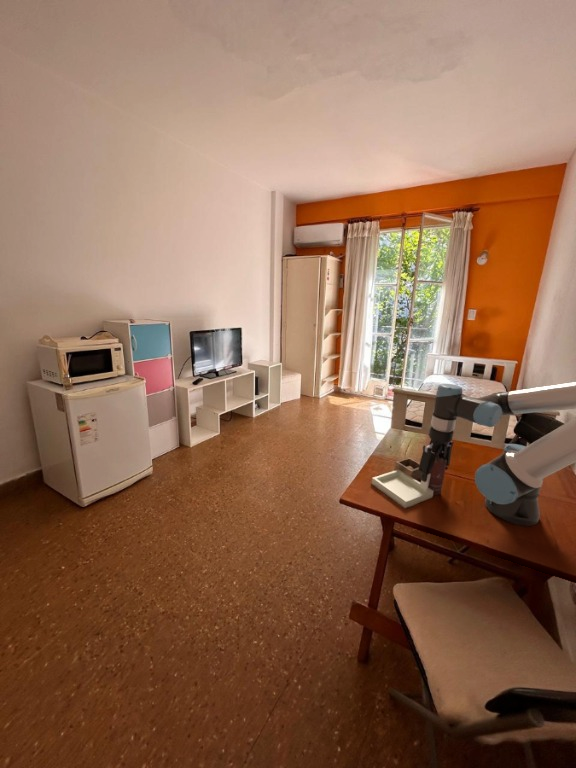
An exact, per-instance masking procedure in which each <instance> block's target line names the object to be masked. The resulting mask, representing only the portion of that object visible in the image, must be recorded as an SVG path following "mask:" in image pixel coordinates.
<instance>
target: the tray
mask: <svg viewBox="0 0 576 768" xmlns="http://www.w3.org/2000/svg"><path fill="white" fill-rule="evenodd" d="M420 483H421V481H419V480H415V479H413V478H412V477H410V476H409V475H407V474H405V473H404V472H402V471H400V470H399V469H398V470H395V471H394V470H392V471H390V472H386V473H383V474H380V475H378V476H374V477H371V484H372V485H373V486H374V488H376V489H378V490H380V492H382V493H383V494H384V495H386V496H387V497H389V498H390V499H391V500H393V501H394V502H396V504H398V505H399V506H401V507H402V508H403V509H407V508H410V507H412V506H415V505H418V504H419V503H421V502H422V503H423V502H424V501H427V500H429V499H432V498H433V496H434V495H433V492H434V491H433V490H431V489H430V488H428V490H427V491H426V490H424V489H423V488H421V487H420Z"/></svg>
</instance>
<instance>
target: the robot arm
mask: <svg viewBox="0 0 576 768" xmlns="http://www.w3.org/2000/svg"><path fill="white" fill-rule="evenodd" d="M434 397H435V399H434V400H435V401H434V405H433V412H432V416H431V421H430V426H429V431H428V437H429V438H430V442H429V444H428V445H423V446H422V453H421V458H420V462H419V463H420V465H419V469H418V471H420V472H422V477H421V479H420V487H421V488H423V489H424V490H426V491H427V490H428V485H429V480H430V475H431V474H430V470H431V468H432V466H433V463H434V461H435V458H436V457H438V455H439V457H440V458H441V457H442V458H445V457H446V460H447V463H446V468H445V471H447V470H448V469H449V466H450V465H451V464H450V463H451V455H452V451H453V450H452V448H453V445H454V441H452V440H453V436H454V432H455V431H454V430H455V428H456V422H457V417H458V418H460V419H463V420H466V421H469V422H472V423H475V424H477V425H479V426H482V427H483V426H485V427H488V428H494V427H495V426H496V425H497V424H498V423H499V422H500V420H501V418H502V416H512V415H519V414H521V415H523V414H531V413H543V412H544V413H545V412H554V411H565V410H576V381H570V382H566V383H565V382H564V383H559V384H552V385H551V384H550V385H545V386H538V387H532V388H531V387H530V388H525V389H516V390H511V391H504V392H503V391H498V392H493V393H492V394H488V395H485V396H481V397H478V398H477V397H473V396H469V395H466V394H464V393H463V388H462V387H461V386H459V385H457V384H453V383H441V384H439V385H438V387H437V389H436V394H435V396H434ZM434 453H435V454H434ZM575 463H576V416H575V417H574V418H572V419H571V420H568V421H567V422H565V423H564V424H562V425H560V426H558V427H557V428H556V429H554V430H552V431H550V432H549V433H547V434H545V435H543V436H542V437H539V439H537V440H535V441H533V442H532V443H530V444H528V445H526V446H525V445H523V444H517V443H507V444H505V446H504V448H503V453H502V454H500V455H499V456H497V457H496V458H494V459H492V460H491V461H489V462H487V463H484V464H482V465H480V466H479V467H478V468H477V470H475V473H474V482H475V485H476V488H477V489H478V491H479V492H480V494H481V495H483V497H485V500H484V505H485V508H487V510H488V511H489V512H490V513H491V514H493V515H495V516H496V517H498V518H499V519H501V520H503V521H506V522H508V523H510V524H514V525H518V526H523V527H525V526H526V527H531V526H532V527H533V526H535V525H537V524H538V522H539V520H540V517H541V514H540V513H541V512H540V507H539V505H540V504H539V494H540V491H541V488H542V486H543V481H544V479H545V478H546V477H549V476H551V475H552V474H554V473H557V472H558V471H561V470H562V469H564V468H567V467H568V466H570V465H573V464H575Z"/></svg>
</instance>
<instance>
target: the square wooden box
mask: <svg viewBox="0 0 576 768" xmlns="http://www.w3.org/2000/svg"><path fill="white" fill-rule="evenodd" d="M394 463H395V464H394V469H393V471H395V470H398V469H399V470H400V471H402V472H404V473H405V474H407V475H409V476H410V477H412V478H413V479H415V480H417V481H419V480H421V477H422V472H420V471H418V469H419V465H420V462H418V461H416V460H415V459H413V458H411V457H406V458H403V459H400V460H397V461H395V462H394ZM408 466H411V467H412V468H413V470H411V469H409V468H408Z"/></svg>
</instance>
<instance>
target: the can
mask: <svg viewBox="0 0 576 768" xmlns="http://www.w3.org/2000/svg"><path fill="white" fill-rule="evenodd" d="M434 454H435V453H434ZM446 463H447V460H446V457H445V458H442V457H441V458H440V457H439V455H438V457H436V458H435V461H434V463H433V466H432V468H431V470H430V474H431V475H430V480H429V485H428V488H430V489H431V490H433V491H434V492H433V496H438V495H440V494H441V492H442V489H443V488H442V487H443V484H444V477H445V473H446V470H445V468H446V467H447V466H446Z"/></svg>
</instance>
